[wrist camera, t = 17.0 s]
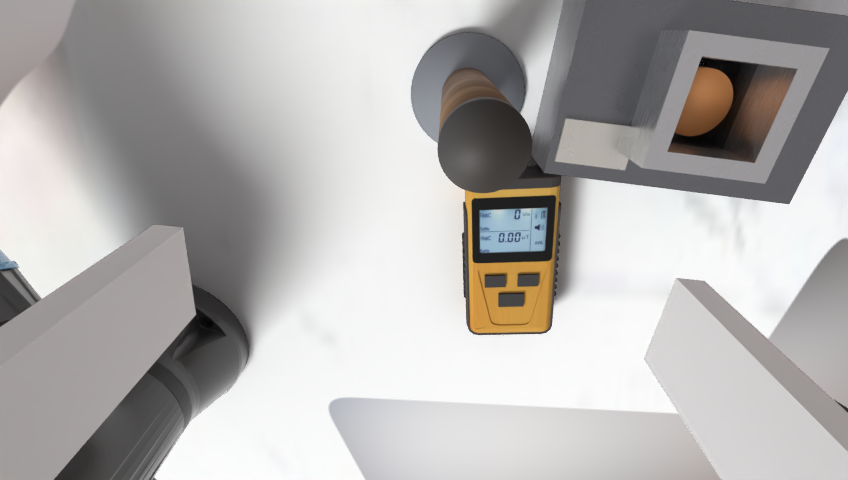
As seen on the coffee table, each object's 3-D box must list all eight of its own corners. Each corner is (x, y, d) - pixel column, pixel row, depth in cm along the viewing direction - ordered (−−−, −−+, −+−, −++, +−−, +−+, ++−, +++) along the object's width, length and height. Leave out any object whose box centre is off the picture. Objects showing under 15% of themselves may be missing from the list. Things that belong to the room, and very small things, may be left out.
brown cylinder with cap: (438, 116, 36) (432, 187, 19) (445, 64, 34) (444, 94, 18) (487, 122, 36) (521, 198, 19) (496, 71, 34) (542, 106, 18)
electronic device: (464, 318, 44) (465, 339, 41) (460, 168, 38) (460, 180, 35) (548, 316, 44) (555, 338, 41) (559, 164, 37) (569, 176, 34)
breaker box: (529, 152, 37) (554, 188, 28) (566, -10, 32) (609, -25, 23) (739, 179, 37) (826, 223, 29) (809, 22, 32) (942, 18, 23)
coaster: (406, 142, 37) (405, 143, 37) (417, 25, 33) (417, 25, 33) (510, 155, 37) (511, 157, 37) (534, 40, 33) (535, 40, 33)
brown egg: (627, 118, 35) (654, 131, 30) (645, 59, 33) (677, 63, 28) (681, 125, 35) (717, 139, 30) (703, 66, 33) (744, 72, 28)
